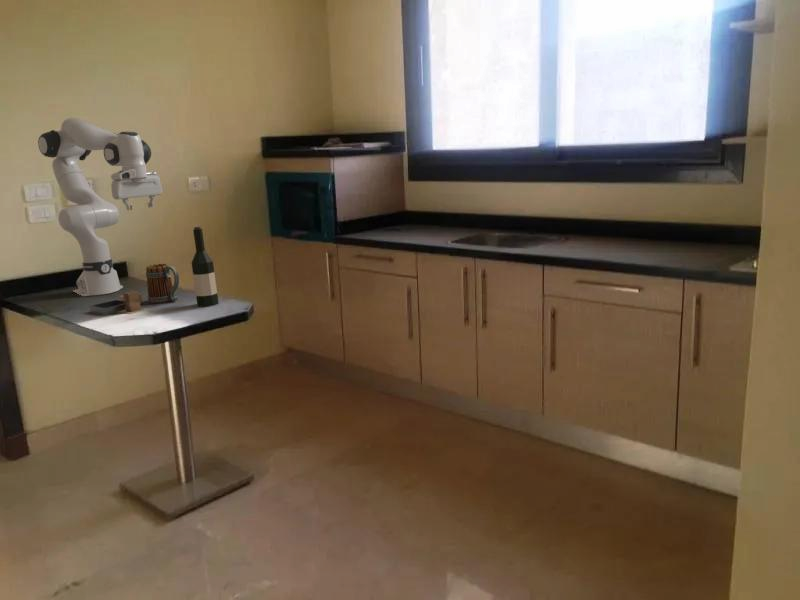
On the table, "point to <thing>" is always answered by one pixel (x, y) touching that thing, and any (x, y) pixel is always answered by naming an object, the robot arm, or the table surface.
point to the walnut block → (131, 301)
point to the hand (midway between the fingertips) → (140, 208)
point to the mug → (161, 283)
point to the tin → (108, 307)
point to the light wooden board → (132, 312)
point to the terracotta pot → (123, 298)
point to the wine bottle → (203, 273)
